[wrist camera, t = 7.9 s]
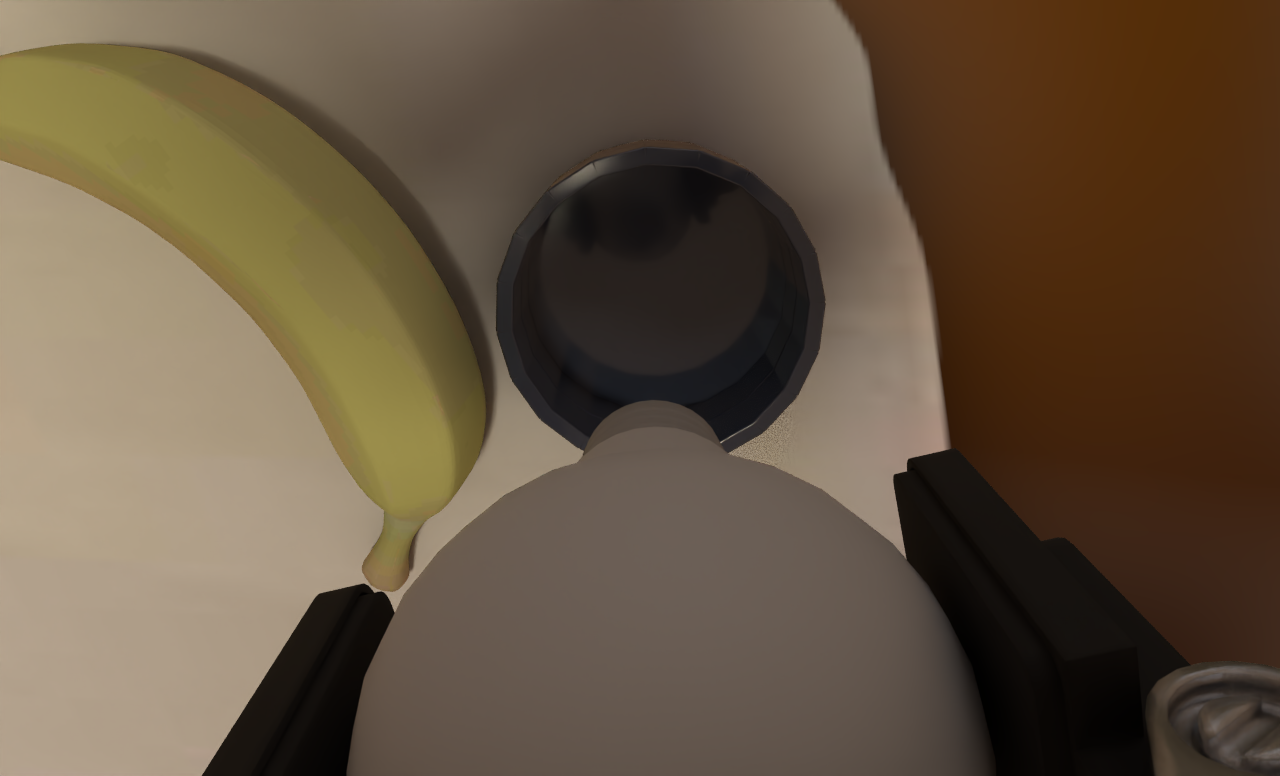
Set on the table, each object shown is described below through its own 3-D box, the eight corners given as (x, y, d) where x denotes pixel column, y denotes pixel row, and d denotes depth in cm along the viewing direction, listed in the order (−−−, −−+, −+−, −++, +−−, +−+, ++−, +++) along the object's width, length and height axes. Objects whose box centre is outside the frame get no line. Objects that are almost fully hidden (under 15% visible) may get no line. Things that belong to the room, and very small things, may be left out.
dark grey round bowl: (479, 181, 29) (452, 197, 25) (765, 105, 28) (789, 108, 24) (559, 444, 32) (548, 498, 28) (820, 381, 31) (850, 427, 27)
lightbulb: (698, 217, 15) (845, 502, 5) (877, 486, 17) (1291, 1152, 6) (420, 410, 16) (20, 1001, 6) (613, 644, 18) (582, 1441, 7)
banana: (248, -28, 20) (505, 633, 29) (365, -42, 25) (555, 529, 33) (-156, 93, 24) (174, 640, 33) (10, 61, 29) (261, 547, 37)
